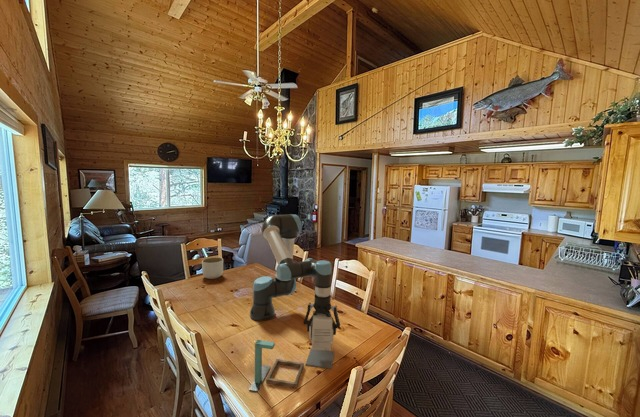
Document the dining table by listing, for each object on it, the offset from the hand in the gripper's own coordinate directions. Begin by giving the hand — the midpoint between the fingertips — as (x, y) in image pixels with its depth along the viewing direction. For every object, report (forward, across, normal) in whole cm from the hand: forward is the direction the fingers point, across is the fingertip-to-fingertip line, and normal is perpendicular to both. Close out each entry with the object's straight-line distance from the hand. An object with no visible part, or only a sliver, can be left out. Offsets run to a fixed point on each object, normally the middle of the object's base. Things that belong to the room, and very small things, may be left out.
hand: (321, 339), depth 126 cm
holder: (+10, -13, -14) cm, 22 cm away
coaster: (+10, 0, 0) cm, 10 cm away
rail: (+10, -23, -18) cm, 31 cm away
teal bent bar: (+9, -20, -20) cm, 30 cm away
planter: (+10, -109, +84) cm, 138 cm away
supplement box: (+3, 0, 0) cm, 3 cm away
